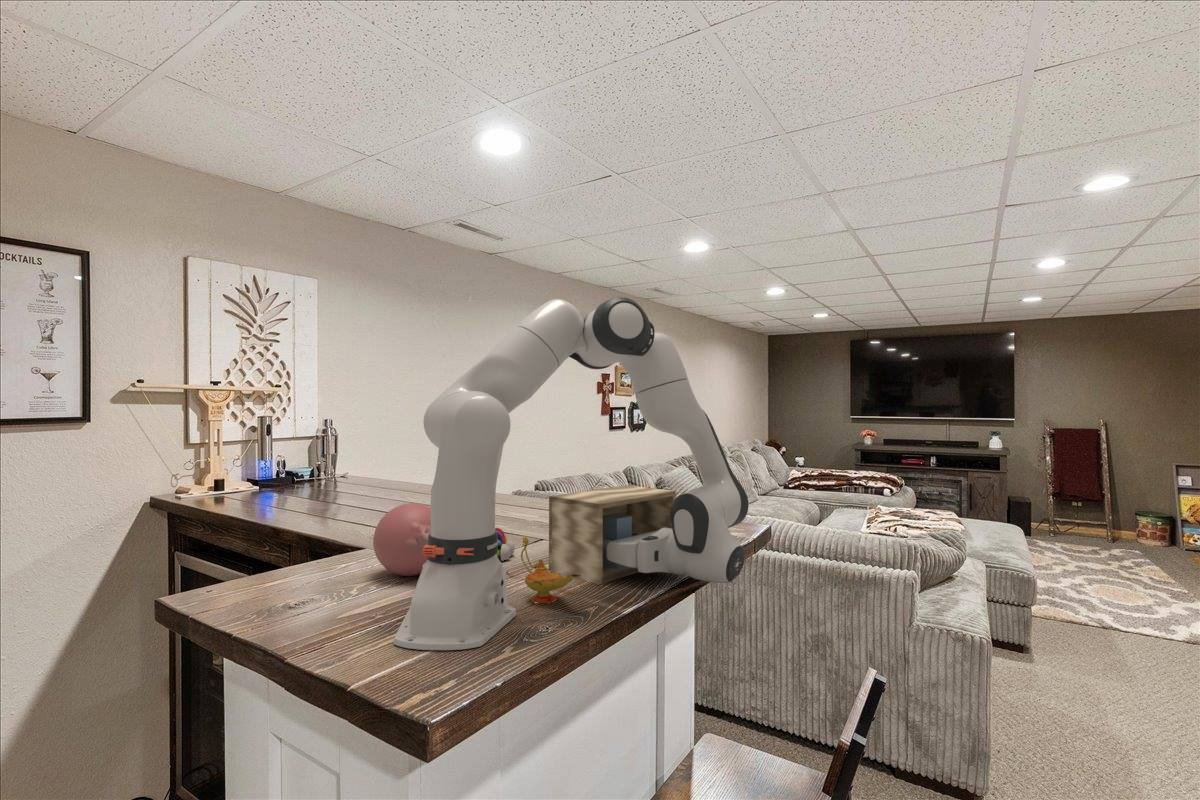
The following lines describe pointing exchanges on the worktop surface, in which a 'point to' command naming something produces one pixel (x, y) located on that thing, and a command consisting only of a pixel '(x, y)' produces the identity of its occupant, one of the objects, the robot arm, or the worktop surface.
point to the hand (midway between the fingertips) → (619, 539)
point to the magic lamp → (543, 579)
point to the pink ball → (403, 538)
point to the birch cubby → (600, 527)
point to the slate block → (615, 533)
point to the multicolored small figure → (504, 545)
